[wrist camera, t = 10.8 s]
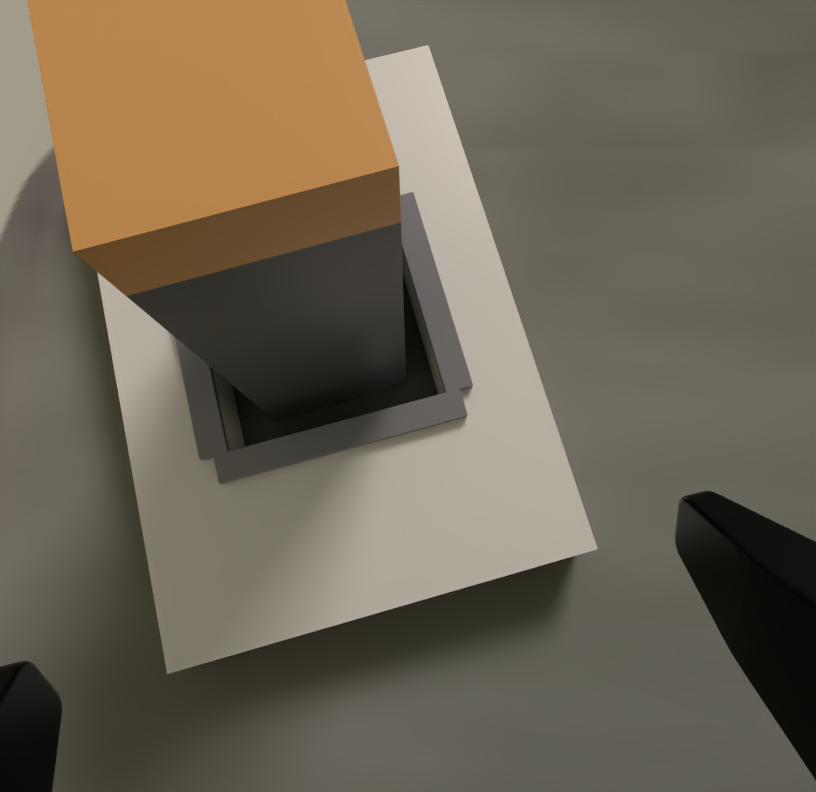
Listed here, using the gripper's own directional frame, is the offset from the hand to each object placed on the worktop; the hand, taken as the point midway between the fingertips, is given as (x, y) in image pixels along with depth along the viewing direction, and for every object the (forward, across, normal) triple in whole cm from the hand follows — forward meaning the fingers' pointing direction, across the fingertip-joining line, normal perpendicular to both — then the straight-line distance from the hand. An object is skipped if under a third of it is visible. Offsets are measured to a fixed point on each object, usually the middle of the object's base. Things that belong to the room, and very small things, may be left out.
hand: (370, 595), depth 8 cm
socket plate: (+13, 0, +2) cm, 13 cm away
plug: (+13, 0, +2) cm, 13 cm away
